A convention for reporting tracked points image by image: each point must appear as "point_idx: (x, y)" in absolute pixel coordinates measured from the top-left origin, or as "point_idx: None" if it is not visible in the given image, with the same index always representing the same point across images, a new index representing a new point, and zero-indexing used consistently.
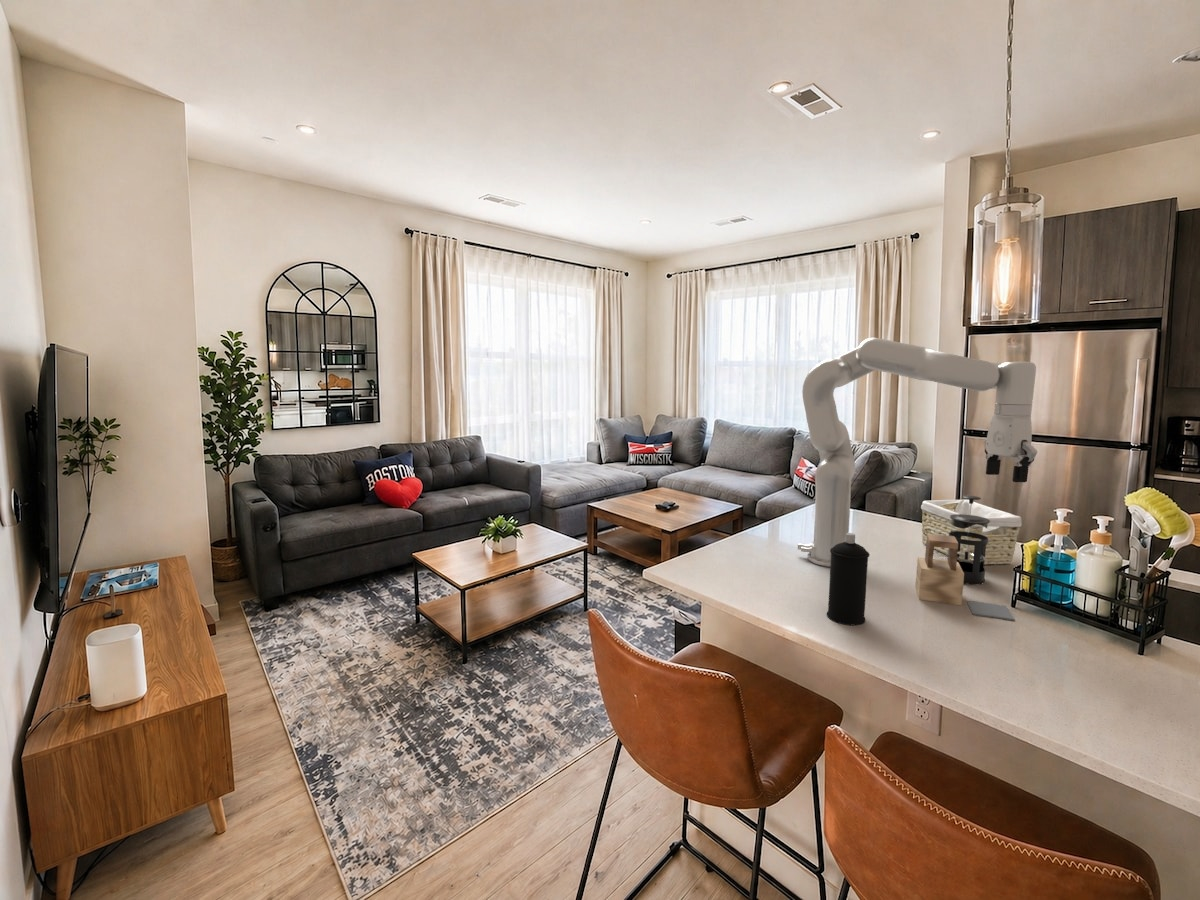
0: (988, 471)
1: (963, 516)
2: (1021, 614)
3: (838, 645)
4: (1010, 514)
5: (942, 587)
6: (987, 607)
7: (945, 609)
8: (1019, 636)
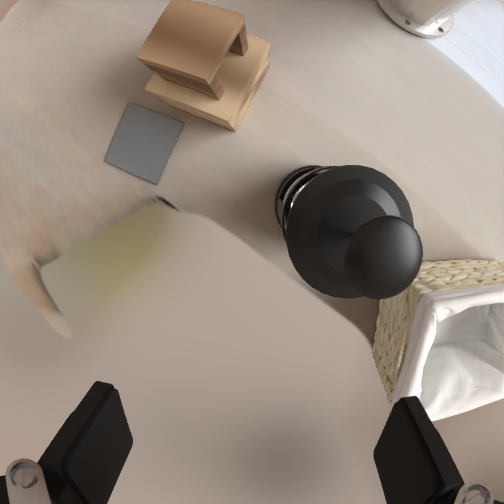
0: (402, 415)
1: (368, 217)
2: (129, 191)
3: None
4: None
5: None
6: (149, 142)
7: None
8: (63, 135)
